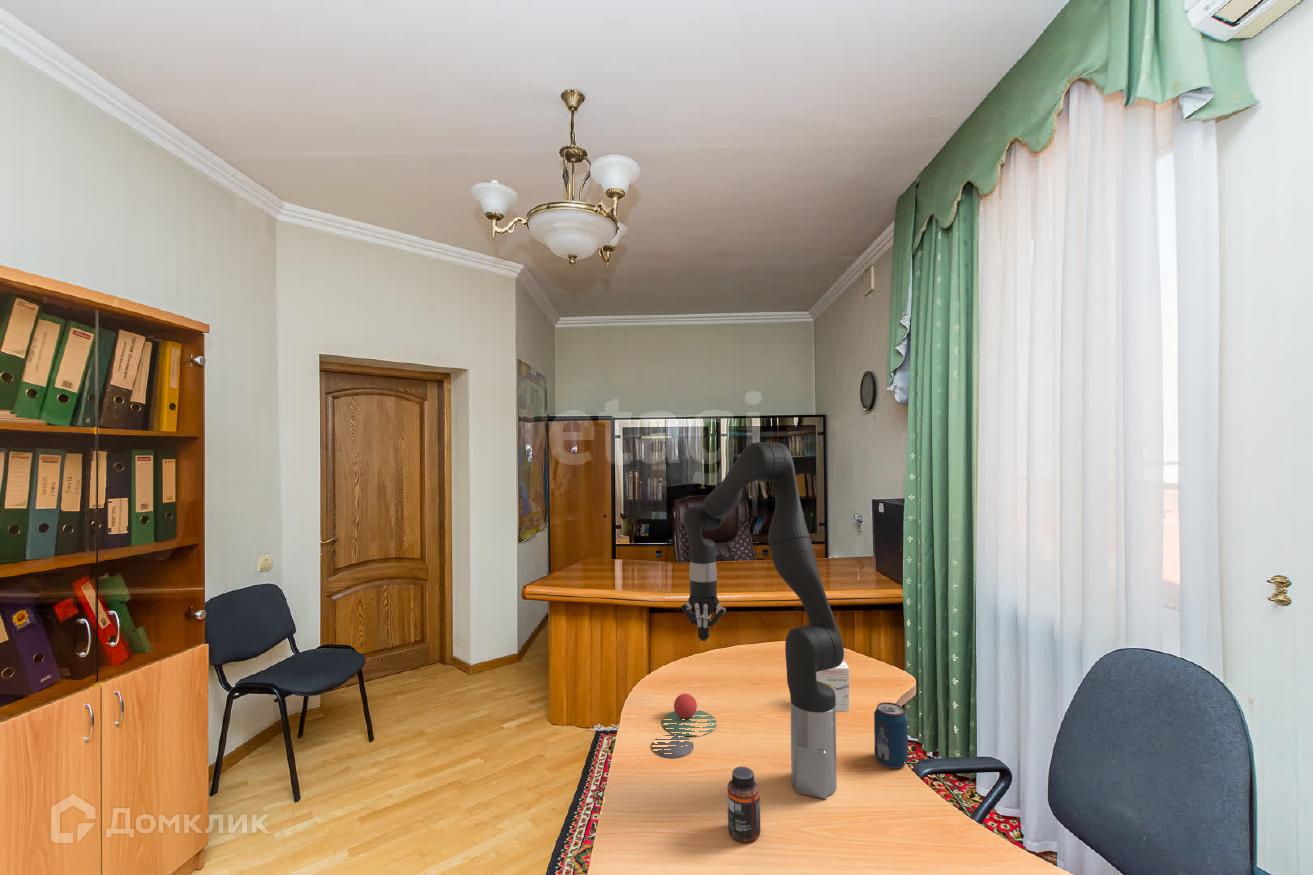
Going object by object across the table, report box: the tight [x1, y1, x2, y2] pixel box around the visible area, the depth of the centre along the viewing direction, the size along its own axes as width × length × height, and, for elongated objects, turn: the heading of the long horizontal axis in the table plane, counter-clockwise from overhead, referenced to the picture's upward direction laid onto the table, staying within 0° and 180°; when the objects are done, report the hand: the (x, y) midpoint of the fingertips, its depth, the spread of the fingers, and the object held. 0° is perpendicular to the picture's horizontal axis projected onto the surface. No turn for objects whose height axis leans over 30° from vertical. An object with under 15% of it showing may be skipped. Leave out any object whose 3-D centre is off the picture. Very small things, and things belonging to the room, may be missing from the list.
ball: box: [673, 693, 698, 719], centre depth 151 cm, size 6×6×6 cm
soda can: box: [873, 701, 909, 769], centre depth 130 cm, size 7×7×12 cm
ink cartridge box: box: [816, 650, 850, 712], centre depth 156 cm, size 9×5×15 cm, turn 84°
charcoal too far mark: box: [651, 734, 694, 759], centre depth 137 cm, size 10×10×1 cm
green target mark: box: [661, 709, 717, 736], centre depth 148 cm, size 14×14×1 cm
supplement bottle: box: [726, 766, 761, 843], centre depth 107 cm, size 6×6×11 cm
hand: (703, 639), depth 160 cm, fingers closed
